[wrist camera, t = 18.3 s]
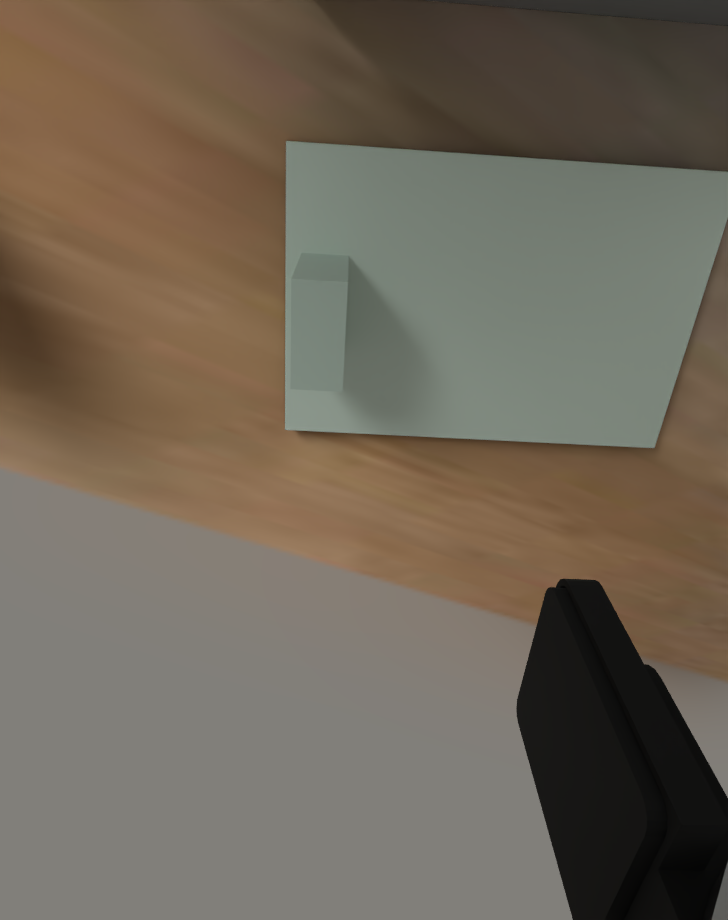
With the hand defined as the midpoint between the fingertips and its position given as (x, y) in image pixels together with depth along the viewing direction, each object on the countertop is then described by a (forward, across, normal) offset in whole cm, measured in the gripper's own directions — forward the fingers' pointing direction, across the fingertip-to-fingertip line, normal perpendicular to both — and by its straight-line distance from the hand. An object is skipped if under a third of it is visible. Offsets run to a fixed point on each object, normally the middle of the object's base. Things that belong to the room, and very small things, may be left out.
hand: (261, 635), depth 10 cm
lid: (+27, -9, +1) cm, 28 cm away
